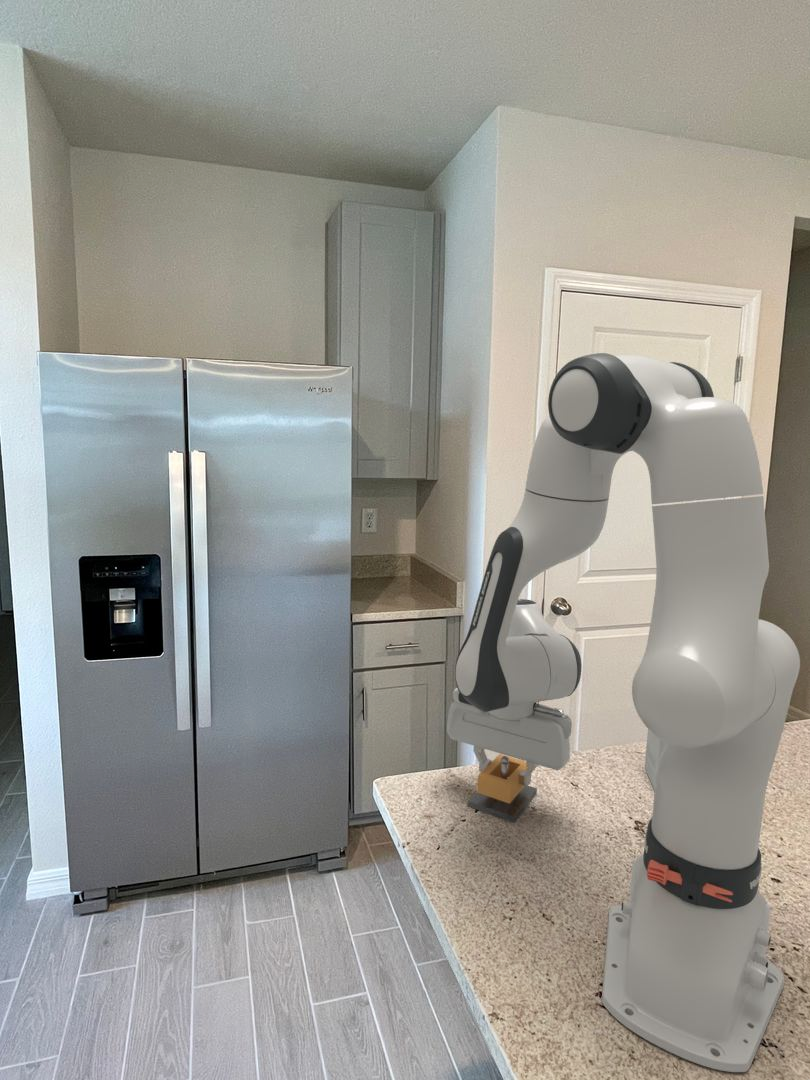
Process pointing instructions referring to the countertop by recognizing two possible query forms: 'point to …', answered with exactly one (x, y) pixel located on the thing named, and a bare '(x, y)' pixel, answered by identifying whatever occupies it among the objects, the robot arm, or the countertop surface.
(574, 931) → the countertop surface
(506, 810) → the keeper post
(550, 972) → the countertop surface
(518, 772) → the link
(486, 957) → the countertop surface
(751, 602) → the robot arm
